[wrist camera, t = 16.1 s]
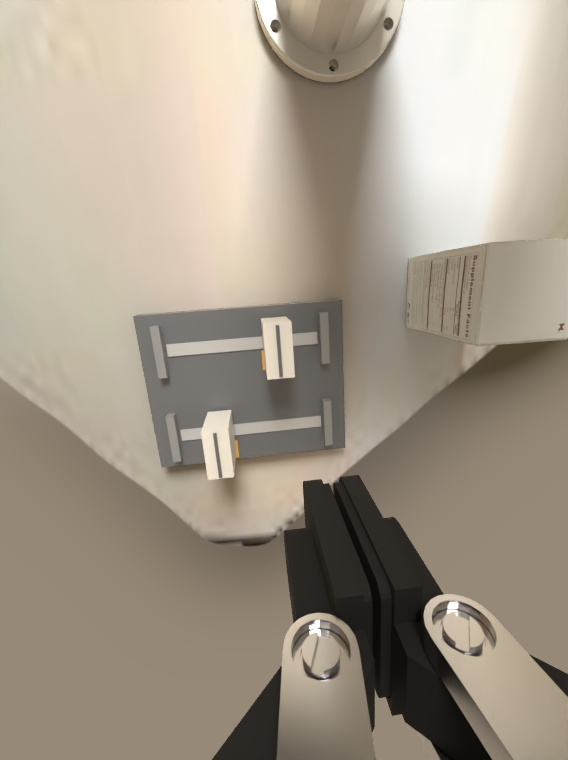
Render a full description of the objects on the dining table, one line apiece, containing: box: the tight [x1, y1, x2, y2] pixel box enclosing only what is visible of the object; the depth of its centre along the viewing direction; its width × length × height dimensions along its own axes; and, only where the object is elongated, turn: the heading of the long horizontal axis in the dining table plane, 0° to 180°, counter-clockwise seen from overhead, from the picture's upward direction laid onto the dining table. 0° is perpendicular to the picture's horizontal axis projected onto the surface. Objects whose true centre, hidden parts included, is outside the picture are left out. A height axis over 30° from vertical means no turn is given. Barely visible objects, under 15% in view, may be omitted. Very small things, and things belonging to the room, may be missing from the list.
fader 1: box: [201, 410, 236, 480], centre depth 33 cm, size 5×2×5 cm, turn 4°
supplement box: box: [406, 238, 568, 346], centre depth 30 cm, size 7×7×13 cm
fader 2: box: [261, 316, 295, 380], centre depth 31 cm, size 5×2×5 cm, turn 4°
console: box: [133, 299, 345, 468], centre depth 35 cm, size 16×20×3 cm
